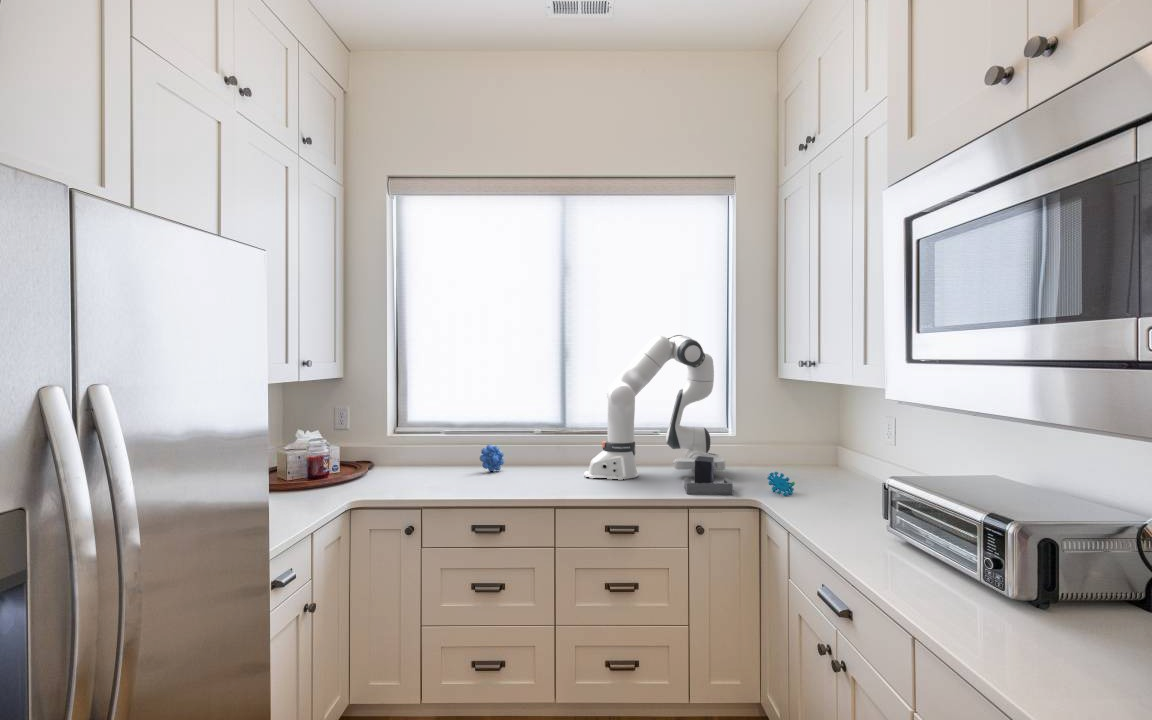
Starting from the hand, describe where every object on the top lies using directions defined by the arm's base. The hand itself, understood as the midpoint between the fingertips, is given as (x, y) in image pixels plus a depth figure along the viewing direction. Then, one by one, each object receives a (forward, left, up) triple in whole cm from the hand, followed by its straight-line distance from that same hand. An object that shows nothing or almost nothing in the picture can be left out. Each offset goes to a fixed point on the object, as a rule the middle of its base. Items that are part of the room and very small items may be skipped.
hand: (701, 467), depth 234 cm
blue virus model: (+26, -20, -6) cm, 33 cm away
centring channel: (0, -17, -6) cm, 18 cm away
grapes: (-87, +14, -6) cm, 88 cm away
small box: (0, -7, -6) cm, 9 cm away
